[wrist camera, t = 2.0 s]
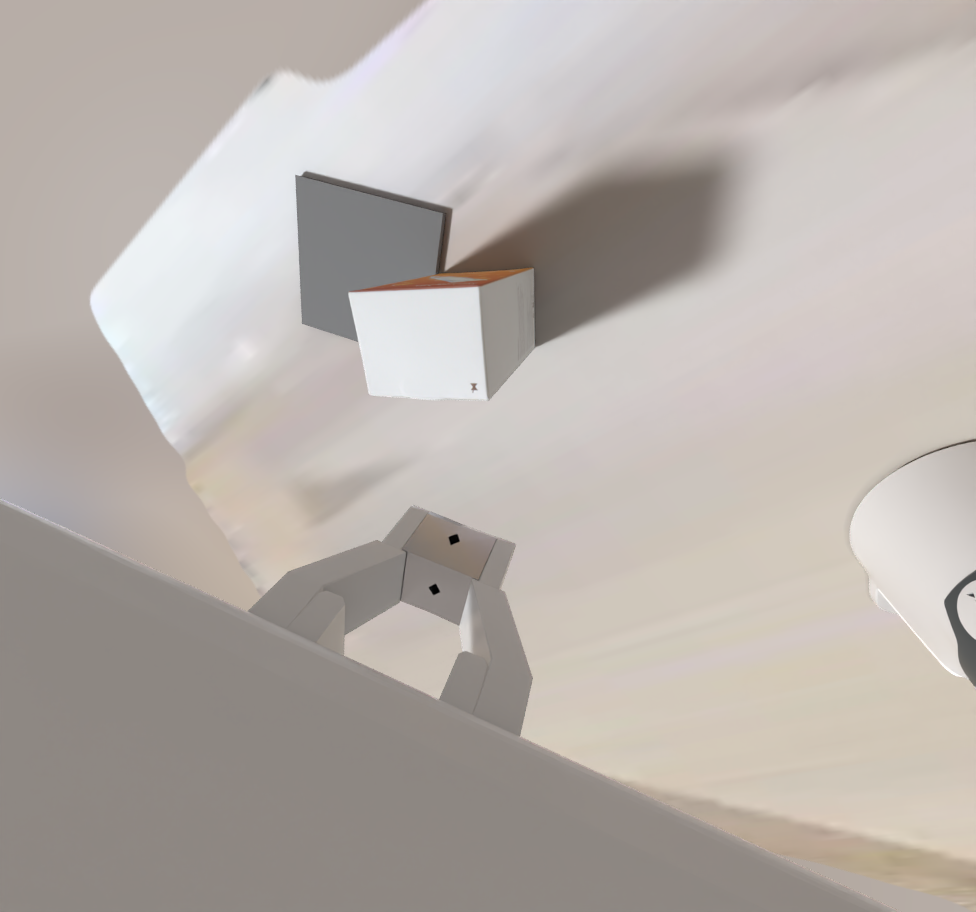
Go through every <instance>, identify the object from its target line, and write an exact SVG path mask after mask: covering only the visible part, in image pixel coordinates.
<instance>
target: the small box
mask: <svg viewBox="0 0 976 912" xmlns="http://www.w3.org/2000/svg"><path fill="white" fill-rule="evenodd" d="M348 295H349V300H350V304H351V309H352V314H353V318H354V323H355V328H356V332H357V337H358V342H359V347H360V351H361V356H362V361H363V366H364V371H365V376H366V381H367V386H368V392H369V394H370V395H372V396H382V397H398V398H414V399H422V400H473V401H489V400H490V399H491V398H492V396H493V395H494V394H495V393H496V392H497V391H498V390H499V388H500V387H501V386H502V385H503V384H504V383H505V382H506V380H507V379H508V378H509V377H510V376H511V375H512V373H513V372H514V371H515V370H516V369H517V368H518V367H519V366H520V364H521V363H522V362H523V361H524V360H525V359H526V358H527V356H528V355H529V354H530V353H531V352H532V351H533V350H534V348H535V314H534V268H532V267H531V268H523V269H513V270H499V271H483V272H465V273H441V274H436V275H432V276H427V277H422V278H418V279H412V280H407V281H402V282H397V283H392V284H387V285H382V286H377V287H371V288H366V289H361V290H355V291H349V293H348Z"/></svg>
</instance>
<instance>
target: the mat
mask: <svg viewBox="0 0 976 912" xmlns="http://www.w3.org/2000/svg"><path fill="white" fill-rule="evenodd" d="M295 177H296V199H297V221H298V243H299V265H300V287H301V309H302V324H305V325H308V326H311V327H314V328H317V329H320V330H323V331H326V332H329V333H333V334H336V335H339V336H342V337H345V338H348V339H351V340H354V341H357V342H358V337H357V332H356V328H355V323H354V318H353V314H352V309H351V304H350V300H349V295H348V293H349V291H355V290H361V289H366V288H371V287H377V286H382V285H387V284H392V283H397V282H402V281H407V280H412V279H418V278H422V277H427V276H432V275H436V274H438V272H439V264H440V256H441V248H442V241H443V233H444V225H445V217H446V214H445V213H441V212H437V211H434V210H430V209H426V208H422V207H418V206H414V205H410V204H407V203H403V202H399V201H395V200H391V199H387V198H383V197H380V196H376V195H372V194H368V193H364V192H360V191H356V190H352V189H349V188H345V187H341V186H337V185H333V184H329V183H325V182H322V181H318V180H314V179H310V178H306V177H302V176H297V175H295Z"/></svg>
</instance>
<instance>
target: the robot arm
mask: <svg viewBox="0 0 976 912" xmlns="http://www.w3.org/2000/svg"><path fill="white" fill-rule="evenodd" d="M850 543H851V547H852V550H853V552H854V554H855V556H856V558H857V560H858V561H859V562H860V564H861V565H862V566H863V568H864V569H865V570H866V572H867V574H868V576H869V594H870V597H871V599H872V600H873V602H874V603H875V604H876V605H877V606H878V607H879V608H880V609H881V610H883V611H885V612H889V613H893V614H898V615H900V617H901V618H902V619H903V620H904V621H905V622H906V624H907V625H908V626H909V627H910V628H911V630H912V631H913V632H914V633H915V634H916V635H917V637H918V638H919V639H920V640H921V641H922V642H923V644H924V645H925V646H926V647H927V648H928V649H929V651H930V652H931V653H932V654H933V655H934V656H935V658H936V659H937V660H938V661H939V662H940V663H941V664H942V666H943V667H944V668H945V669H947V670H948V671H949V672H950V673H952V674H954V675H955V676H958V677H964V678H966V679H968V680H970V681H971V682H972V684H973V685H974V686H975V689H976V441H975V442H970V443H965V444H961V445H957V446H953V447H949V448H946V449H943V450H940V451H937V452H934V453H931V454H929V455H926V456H924V457H921V458H919V459H917V460H915V461H913V462H911V463H909V464H907V465H905V466H903V467H901V468H900V469H898V470H896V471H895V472H893V473H892V474H890V475H889V476H887V477H886V478H885V479H883V480H882V481H881V482H880V483H878V484H877V485H876V486H875V487H874V488H873V489H872V490H871V491H870V492H869V493H868V494H867V495H866V496H865V498H864V499H863V500H862V502H861V503H860V505H859V506H858V508H857V510H856V512H855V514H854V516H853V519H852V522H851V526H850ZM515 547H516V544H515V543H512V542H510V541H507V540H504V539H501V538H499V537H495V536H493V535H490V534H487V533H485V532H482V531H479V530H477V529H474V528H471V527H468V526H466V525H463V524H460V523H458V522H455V521H453V520H451V519H448V518H446V517H443V516H441V515H438V514H436V513H433V512H430V511H427V510H425V509H423V508H420V507H418V506H415V505H413V506H412V507H410V508H409V509H408V510H407V511H406V513H405V514H404V515H403V516H402V518H401V519H400V520H399V521H398V523H397V524H396V525H395V526H394V527H393V529H392V530H391V531H390V532H389V534H388V535H387V536H386V537H385V538H384V540H383V541H382V542H380V541H378V540H376V541H373V542H370V543H367V544H364V545H362V546H359V547H356V548H353V549H350V550H348V551H345V552H342V553H339V554H336V555H333V556H331V557H328V558H325V559H322V560H319V561H317V562H314V563H311V564H308V565H305V566H303V567H300V568H297V569H294V570H291V571H289V572H287V573H286V574H285V575H284V576H283V577H282V578H281V579H280V580H279V581H278V582H277V583H276V584H275V585H274V586H273V587H272V588H271V589H270V590H269V591H268V592H267V593H266V594H265V595H264V596H263V597H262V598H261V599H260V600H259V601H258V602H257V603H256V604H255V605H254V606H253V607H252V608H251V609H249V610H248V611H245V610H243V609H241V608H239V607H237V606H234V605H232V604H230V603H228V602H226V601H223V600H221V599H219V598H217V597H215V596H213V595H210V594H208V593H206V592H204V591H202V590H200V589H197V588H195V587H193V586H191V585H188V584H186V583H184V582H182V581H180V580H178V579H176V578H173V577H171V576H169V575H167V574H165V573H163V572H160V571H158V570H156V569H154V568H151V567H149V566H147V565H145V564H143V563H141V562H138V561H136V560H134V559H132V558H130V557H128V556H125V555H123V554H121V553H119V552H117V551H114V550H112V549H110V548H108V547H106V546H104V545H102V544H99V543H97V542H95V541H93V540H90V539H89V538H86V537H84V536H82V535H80V534H78V533H75V532H73V531H71V530H69V529H67V528H65V527H63V526H60V525H58V524H56V523H54V522H52V521H49V520H47V519H45V518H43V517H41V516H39V515H36V514H34V513H32V512H30V511H28V510H26V509H23V508H21V507H19V506H17V505H15V504H13V503H10V502H8V501H6V500H4V499H2V498H0V912H901V911H899V910H897V909H895V908H893V907H890V906H888V905H886V904H884V903H882V902H879V901H877V900H875V899H873V898H871V897H869V896H866V895H864V894H862V893H860V892H858V891H855V890H853V889H851V888H849V887H847V886H845V885H842V884H840V883H838V882H836V881H834V880H831V879H829V878H827V877H825V876H823V875H821V874H818V873H816V872H814V871H812V870H810V869H807V868H805V867H803V866H801V865H799V864H797V863H794V862H792V861H790V860H788V859H786V858H784V857H781V856H779V855H777V854H775V853H773V852H770V851H768V850H766V849H764V848H762V847H760V846H757V845H755V844H753V843H751V842H749V841H746V840H744V839H742V838H740V837H738V836H736V835H733V834H731V833H729V832H727V831H725V830H723V829H720V828H718V827H716V826H714V825H712V824H709V823H707V822H705V821H703V820H701V819H699V818H696V817H694V816H692V815H690V814H688V813H685V812H683V811H681V810H679V809H677V808H675V807H672V806H670V805H668V804H666V803H664V802H662V801H659V800H657V799H655V798H653V797H651V796H648V795H646V794H644V793H642V792H640V791H638V790H635V789H633V788H631V787H629V786H627V785H624V784H622V783H620V782H618V781H616V780H614V779H611V778H609V777H607V776H605V775H603V774H601V773H598V772H596V771H594V770H592V769H590V768H587V767H585V766H583V765H581V764H579V763H577V762H574V761H572V760H570V759H568V758H566V757H564V756H561V755H559V754H557V753H555V752H553V751H550V750H548V749H546V748H544V747H542V746H540V745H537V744H535V743H533V742H531V741H529V740H526V739H524V738H522V737H520V734H521V729H522V725H523V720H524V716H525V711H526V707H527V702H528V698H529V693H530V688H531V684H532V679H533V678H532V674H531V671H530V668H529V665H528V662H527V659H526V656H525V653H524V650H523V646H522V643H521V640H520V637H519V634H518V631H517V628H516V625H515V622H514V618H513V615H512V612H511V609H510V606H509V603H508V600H507V597H506V594H505V592H504V591H502V590H501V588H502V585H503V582H504V579H505V576H506V573H507V570H508V567H509V564H510V561H511V558H512V555H513V553H514V550H515ZM400 601H402V602H405V603H407V604H410V605H413V606H415V607H418V608H420V609H423V610H425V611H428V612H430V613H433V614H435V615H437V616H439V617H441V618H444V619H446V620H448V621H450V622H452V623H454V624H457V625H459V630H460V638H461V645H462V653H459V654H458V657H457V659H456V661H455V664H454V666H453V668H452V671H451V673H450V675H449V678H448V680H447V682H446V685H445V687H444V689H443V691H442V694H441V696H440V698H439V699H437V698H435V697H433V696H431V695H428V694H426V693H424V692H422V691H420V690H417V689H415V688H413V687H411V686H409V685H407V684H404V683H402V682H400V681H398V680H396V679H393V678H391V677H389V676H387V675H385V674H383V673H380V672H378V671H376V670H374V669H372V668H369V667H367V666H365V665H363V664H361V663H359V662H356V661H354V660H352V659H350V658H348V657H345V656H344V635H346V634H348V633H349V632H351V631H353V630H354V629H356V628H358V627H359V626H361V625H363V624H364V623H366V622H368V621H369V620H371V619H373V618H374V617H376V616H378V615H379V614H381V613H383V612H385V611H386V610H388V609H390V608H391V607H393V606H395V605H396V604H398V603H400Z"/></svg>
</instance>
